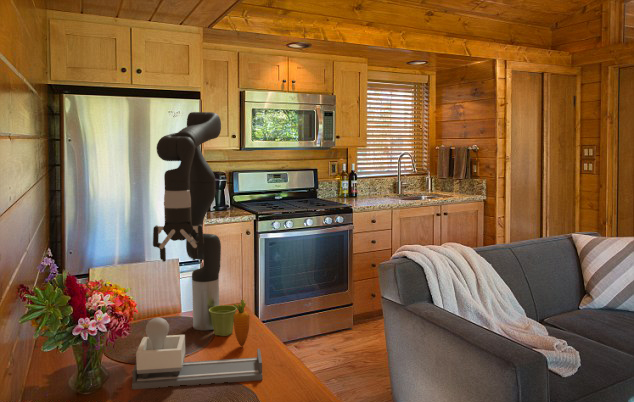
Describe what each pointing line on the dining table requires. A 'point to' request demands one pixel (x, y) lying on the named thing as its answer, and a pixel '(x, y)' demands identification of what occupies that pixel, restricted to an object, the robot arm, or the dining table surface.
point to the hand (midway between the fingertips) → (179, 260)
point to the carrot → (241, 323)
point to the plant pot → (223, 319)
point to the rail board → (204, 373)
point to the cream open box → (161, 356)
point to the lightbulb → (157, 332)
